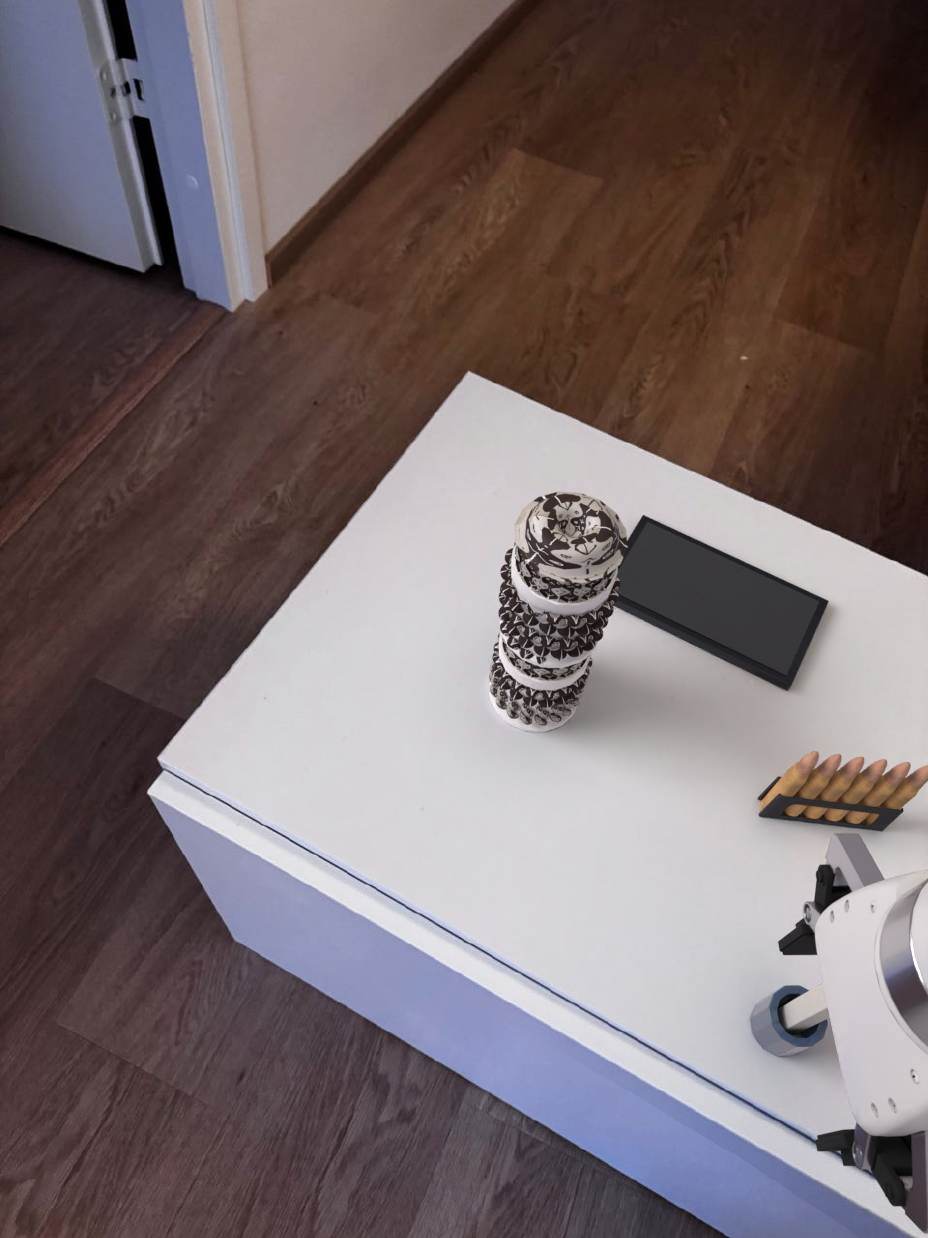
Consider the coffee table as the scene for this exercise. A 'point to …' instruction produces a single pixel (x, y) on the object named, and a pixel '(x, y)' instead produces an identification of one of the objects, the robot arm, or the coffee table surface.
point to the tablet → (717, 602)
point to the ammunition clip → (842, 792)
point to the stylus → (804, 1011)
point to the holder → (773, 1033)
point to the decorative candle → (554, 607)
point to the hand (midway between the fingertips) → (823, 1041)
